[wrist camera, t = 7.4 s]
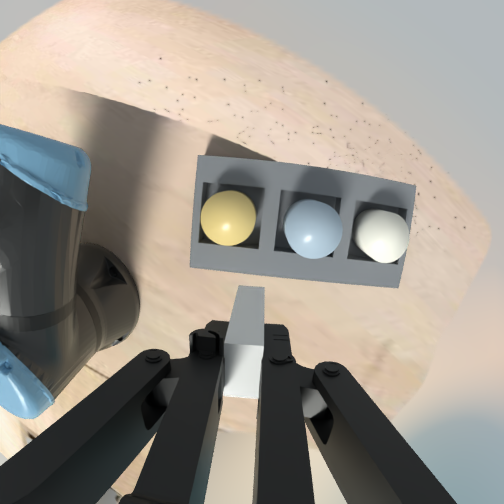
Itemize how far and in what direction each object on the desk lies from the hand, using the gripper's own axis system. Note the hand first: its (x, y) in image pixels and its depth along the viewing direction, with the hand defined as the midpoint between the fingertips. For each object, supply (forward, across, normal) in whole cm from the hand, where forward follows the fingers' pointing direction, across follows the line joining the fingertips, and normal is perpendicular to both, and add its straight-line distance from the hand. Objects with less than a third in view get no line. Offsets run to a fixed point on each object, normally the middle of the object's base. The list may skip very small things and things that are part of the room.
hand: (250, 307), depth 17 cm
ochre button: (+16, -3, +4) cm, 17 cm away
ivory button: (+16, +13, +3) cm, 21 cm away
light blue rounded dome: (+14, +5, +3) cm, 16 cm away
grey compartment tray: (+17, +5, +3) cm, 18 cm away
